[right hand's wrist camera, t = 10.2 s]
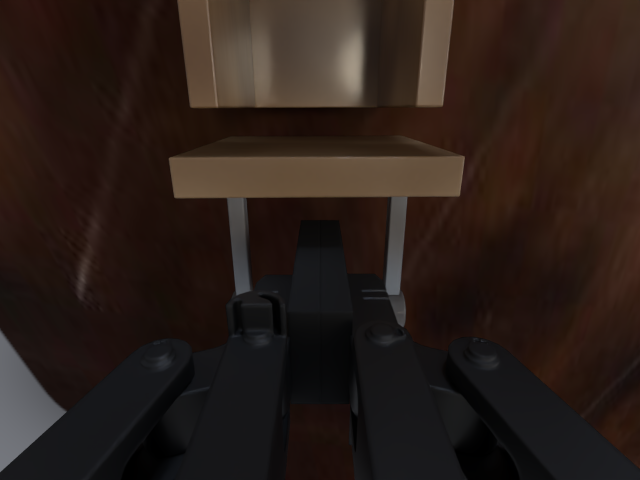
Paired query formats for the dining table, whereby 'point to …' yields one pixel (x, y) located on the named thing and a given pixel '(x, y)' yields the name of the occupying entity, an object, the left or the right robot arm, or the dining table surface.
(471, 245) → the dining table surface
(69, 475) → the right robot arm
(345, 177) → the drawer
